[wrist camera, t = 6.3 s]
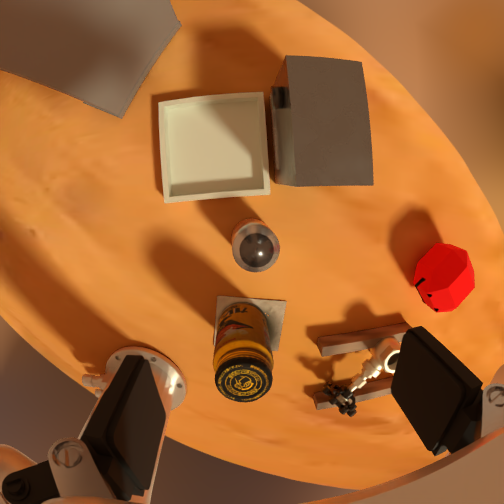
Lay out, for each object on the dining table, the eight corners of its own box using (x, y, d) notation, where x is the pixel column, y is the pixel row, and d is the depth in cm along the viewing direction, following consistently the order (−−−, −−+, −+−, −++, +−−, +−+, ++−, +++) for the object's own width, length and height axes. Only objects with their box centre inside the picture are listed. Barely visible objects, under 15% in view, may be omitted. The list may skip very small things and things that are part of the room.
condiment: (217, 294, 34) (207, 351, 22) (286, 300, 35) (307, 357, 23) (213, 345, 36) (205, 409, 24) (277, 349, 36) (291, 413, 25)
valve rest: (313, 399, 39) (316, 410, 37) (317, 337, 36) (322, 347, 34) (392, 382, 40) (398, 391, 37) (406, 322, 36) (414, 330, 34)
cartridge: (235, 260, 33) (237, 278, 27) (227, 222, 32) (228, 232, 26) (274, 253, 33) (284, 268, 27) (267, 214, 32) (276, 222, 26)
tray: (168, 201, 31) (164, 203, 29) (163, 106, 28) (158, 102, 26) (268, 193, 31) (270, 194, 29) (261, 96, 28) (263, 91, 26)
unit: (267, 183, 31) (284, 187, 19) (262, 97, 28) (274, 55, 17) (328, 181, 31) (375, 185, 19) (322, 98, 28) (363, 62, 17)
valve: (374, 319, 37) (318, 379, 38) (392, 335, 30) (325, 403, 32) (400, 343, 37) (346, 399, 38) (419, 361, 30) (357, 423, 32)
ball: (399, 267, 34) (431, 287, 27) (436, 229, 33) (472, 242, 26) (420, 305, 36) (449, 328, 29) (454, 270, 35) (486, 287, 28)
